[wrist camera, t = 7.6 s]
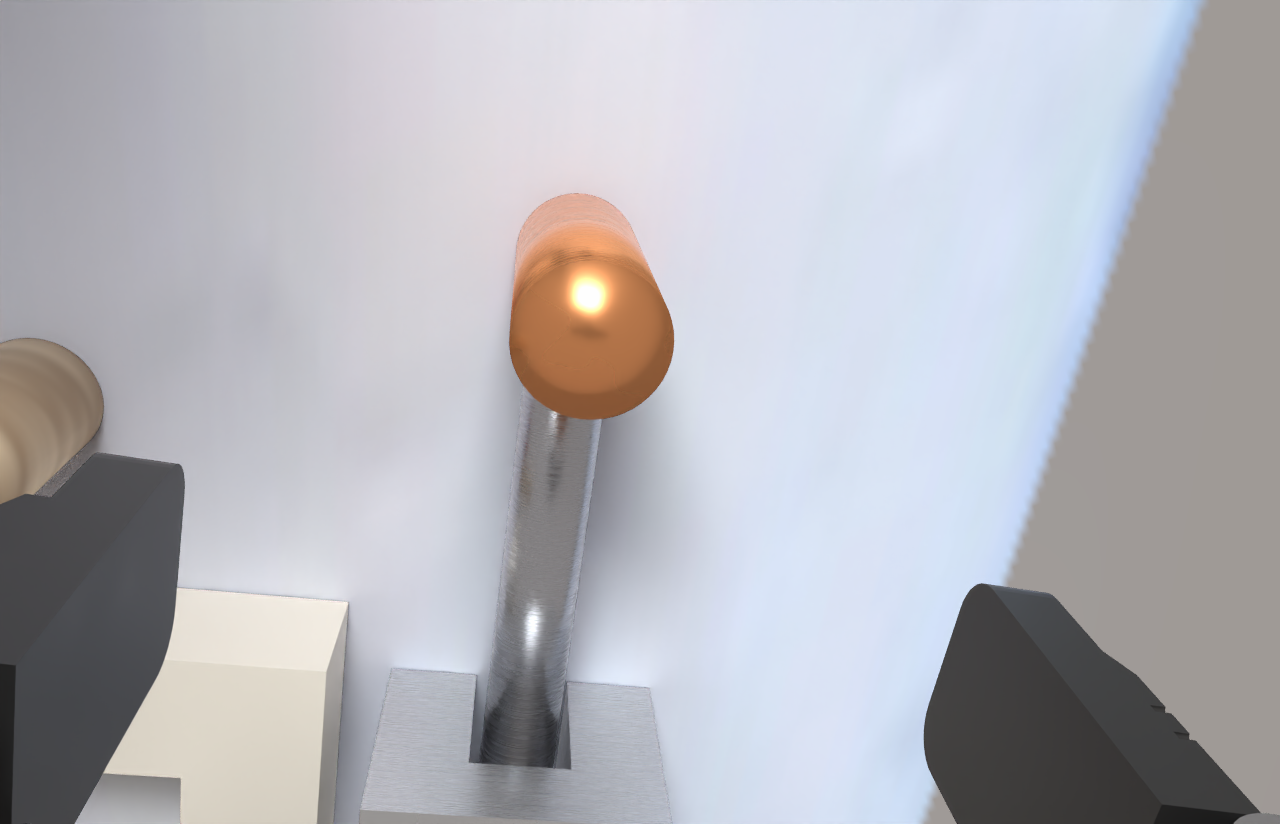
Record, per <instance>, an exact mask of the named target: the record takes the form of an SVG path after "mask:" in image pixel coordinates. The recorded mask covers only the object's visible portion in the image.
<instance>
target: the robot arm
mask: <svg viewBox="0 0 1280 824" xmlns="http://www.w3.org/2000/svg"><path fill="white" fill-rule="evenodd" d="M184 489H185V481H184V473H183V469H182V467H181V465H180V464H174V463H167V462H161V461H154V460H147V459H140V458H133V457H127V456H120V455H113V454H106V453H99V452H98V453H95V454H94V455H93V456H92V457H91V458H90V459H89V460H88V461H87V462H86V463H85V464H84V465H83V466H82V467H81V468H80V469H79V470H78V471H77V472H76V473H75V474H74V475H73V476H72V477H71V478H70V479H69V480H68V481H67V482H66V483H65V484H64V485H63V486H62V487H61V488H60V489H59V490H58V491H57V492H56V493H55V494H54V495H53V496H52V497H45V496H38V495H31V494H24V495H21V496H19V497H16V498H14V499H11V500H9V501H7V502H4V503H2V504H0V824H74V823H75V822H76V820H77V818H78V816H79V815H80V813H81V811H82V809H83V807H84V806H85V804H86V802H87V800H88V799H89V797H90V795H91V793H92V792H93V790H94V788H95V786H96V784H97V783H98V781H99V779H100V777H101V776H102V774H103V772H104V770H105V769H106V767H107V765H108V763H109V761H110V760H111V758H112V756H113V754H114V753H115V751H116V749H117V747H118V746H119V744H120V742H121V740H122V738H123V737H124V735H125V733H126V731H127V730H128V728H129V726H130V724H131V723H132V721H133V719H134V717H135V715H136V714H137V712H138V710H139V708H140V707H141V705H142V703H143V701H144V700H145V698H146V696H147V694H148V692H149V691H150V689H151V687H152V685H153V684H154V682H155V680H156V678H157V676H158V674H159V672H160V670H161V667H162V665H163V662H164V659H165V656H166V653H167V650H168V646H169V642H170V638H171V633H172V628H173V623H174V616H175V607H176V594H177V581H178V568H179V555H180V543H181V530H182V517H183V504H184ZM924 750H925V756H926V761H927V765H928V768H929V770H930V772H931V775H932V776H933V778H934V780H935V782H936V784H937V786H938V788H939V790H940V792H941V794H942V796H943V798H944V800H945V802H946V804H947V806H948V808H949V809H950V811H951V813H952V815H953V817H954V819H955V821H956V823H957V824H1280V815H1276V814H1269V813H1260V812H1259V810H1258V809H1257V808H1256V807H1255V806H1254V805H1253V804H1252V803H1251V802H1250V800H1249V799H1248V798H1247V797H1246V796H1245V795H1244V794H1243V793H1242V792H1241V790H1240V789H1239V788H1238V787H1237V786H1236V785H1235V784H1234V783H1233V782H1232V780H1231V779H1230V778H1229V777H1228V776H1227V775H1226V774H1225V773H1224V772H1223V770H1222V769H1221V768H1220V767H1219V766H1218V765H1217V764H1216V763H1215V762H1214V760H1213V759H1212V758H1211V757H1210V756H1209V755H1208V754H1207V753H1206V752H1205V750H1204V749H1203V748H1202V747H1201V746H1200V745H1199V744H1198V743H1197V742H1196V741H1194V740H1189V733H1188V732H1187V730H1186V729H1185V728H1184V727H1183V726H1182V725H1181V724H1180V723H1179V722H1178V721H1177V719H1176V718H1175V717H1174V716H1173V715H1172V714H1170V713H1165V706H1164V705H1163V704H1162V703H1161V702H1160V701H1159V699H1158V698H1157V697H1156V696H1155V695H1154V694H1153V693H1152V692H1151V691H1150V689H1149V688H1148V687H1147V686H1146V685H1145V684H1144V683H1143V682H1142V681H1141V679H1140V678H1139V677H1138V676H1137V675H1136V674H1134V673H1133V672H1131V671H1130V670H1129V669H1127V668H1126V667H1124V666H1123V665H1121V664H1120V663H1119V662H1117V661H1116V660H1114V659H1113V658H1111V657H1110V656H1109V655H1107V654H1106V653H1104V652H1103V651H1102V650H1101V649H1100V648H1099V647H1098V646H1097V644H1096V643H1095V642H1094V641H1093V640H1092V639H1091V638H1090V636H1089V635H1088V634H1087V633H1086V632H1085V631H1084V630H1083V629H1082V627H1081V626H1080V625H1079V624H1078V623H1077V622H1076V621H1075V619H1074V618H1073V617H1072V616H1071V615H1070V614H1069V613H1068V612H1067V611H1066V609H1065V608H1064V607H1063V606H1062V605H1061V604H1060V602H1059V601H1058V600H1057V599H1056V598H1055V597H1054V596H1053V595H1051V594H1049V593H1044V592H1037V591H1030V590H1023V589H1017V588H1010V587H1003V586H996V585H989V584H982V583H981V584H977V585H976V586H974V587H973V588H972V589H971V590H970V591H969V593H968V594H967V595H966V597H965V599H964V601H963V604H962V606H961V609H960V612H959V615H958V618H957V621H956V624H955V627H954V630H953V633H952V636H951V639H950V642H949V645H948V648H947V651H946V654H945V657H944V660H943V663H942V666H941V669H940V672H939V675H938V678H937V681H936V684H935V687H934V690H933V693H932V696H931V699H930V702H929V706H928V709H927V713H926V718H925V725H924Z"/></svg>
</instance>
